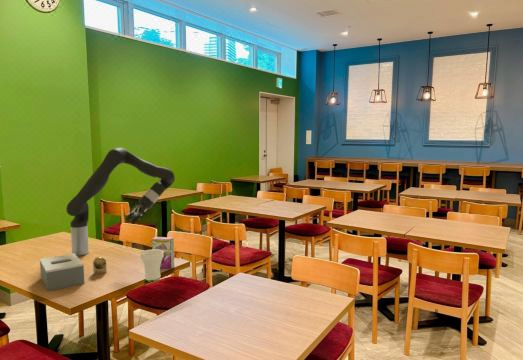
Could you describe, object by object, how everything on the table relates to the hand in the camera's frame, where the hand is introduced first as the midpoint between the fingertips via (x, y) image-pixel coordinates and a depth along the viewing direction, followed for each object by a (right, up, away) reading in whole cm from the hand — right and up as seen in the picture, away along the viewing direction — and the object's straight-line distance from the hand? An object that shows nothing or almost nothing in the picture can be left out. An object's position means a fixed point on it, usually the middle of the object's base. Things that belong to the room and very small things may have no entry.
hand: (129, 221), depth 209 cm
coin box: (-27, -28, -18) cm, 43 cm away
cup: (+17, -28, -15) cm, 36 cm away
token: (-13, -26, -7) cm, 30 cm away
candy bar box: (+18, -26, +3) cm, 31 cm away
